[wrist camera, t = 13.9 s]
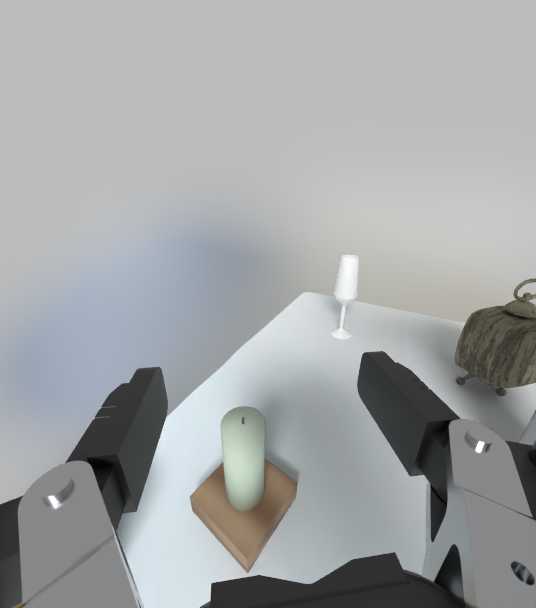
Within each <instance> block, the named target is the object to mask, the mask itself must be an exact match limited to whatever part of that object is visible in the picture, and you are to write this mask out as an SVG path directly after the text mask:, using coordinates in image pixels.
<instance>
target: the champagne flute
mask: <svg viewBox="0 0 536 608" xmlns="http://www.w3.org/2000/svg"><path fill="white" fill-rule="evenodd" d="M358 271H359V257H358V256H355V255H342V256H341V259H340V264H339V269H338V274H337V279H336V284H335V289H334V297H335V298H336V300H337V301H338V302H339V303H340V304H341V305H342V309H341V318H340V326H339V328H336V329H333V330H331V331H330V335H331V336H333V337H334V338H337V339H349V338H351V336H352V334H351V333H350V332H349V331H347V330H345V329H344V328H343V326H344V318H345V310H346V305H348V304H350V303H352V302H353V301H354V300H355V299H356V298H357V296H358V273H359V272H358Z"/></svg>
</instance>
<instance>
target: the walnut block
mask: <svg viewBox="0 0 536 608" xmlns="http://www.w3.org/2000/svg"><path fill="white" fill-rule="evenodd" d="M296 487H297V482H295V481H294V480H293V479H291V478H290V477H289V476H287V475H286V474H285V473H283V472H282V471H281V470H279V469H278V468H277V467H275V466H274V465H272V464H271V463H270V462H268V461H267V460H266V459H264V493H263V497H262V500H261V501H260V503H259V504H258V505H257V506H256V507H255V508H254V509H252V510H249V511H244V512H243V511H238V510H235V509H234V508H232V507H231V506H230V504H229V503H228V501H227V498H226V489H225V476H224V463H222V464H221V465H220V466H219V467H218V468H217V469H216V470H215V471H214V472H213V473H212V474H211V475H210V476H209V477H208V478H207V479H206V480H205V482H204V483H203V484H202V485H201V486H200V487H199V488H198V489H197V490H196V491H195V492H194V493H193V494H192V495H191V496H190V500H191V505H192V511H193V512H194V513H195V514H196V515H197V516H198V517H199V518H200V520H201V521H202V522H203V523H204V524H205V525H206V526H207V528H208V529H209V530H210V531H211V532H212V533H213V534H214V535H215V537H216V538H217V539H218V540H219V541H220V542H221V543H222V544H223V546H224V547H225V548H226V549H227V550H228V551H229V552H230V554H231V555H232V556H233V557H234V558H235V559H236V560H237V561H238V563H239V564H240V565H241V566H242V567H243V568H244V569H245V570H246V572H247V573H248V572H249V571H250V569H251V567H252V566H253V564H254V563H255V561H256V559H257V558H258V556H259V555H260V553H261V551H262V550H263V548H264V547H265V545H266V543H267V542H268V540H269V539H270V537H271V535H272V534H273V532H274V531H275V529H276V528H277V526H278V524H279V523H280V521H281V520H282V518H283V516H284V515H285V513H286V512H287V510H288V508H289V507H290V505H291V504H292V502H293V500H294V499H295V497H296Z"/></svg>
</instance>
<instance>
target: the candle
mask: <svg viewBox="0 0 536 608" xmlns="http://www.w3.org/2000/svg"><path fill="white" fill-rule="evenodd" d="M221 437H222V450H223V463H224V476H225V489H226V498H227V501H228V503H229V504H230V506H231V507H232V508H234V509H235V510H238V511H243V512H244V511H249V510H252V509H254V508H255V507H256V506H257V505H258V504H259V503H260V501H261V500H262V497H263V493H264V454H265V420H264V417H263V415H262V414H261V413H260V412H259V411H258V410H256V409H254V408H252V407H237V408H234V409H232V410H230V411H229V412H228V413H227V414H226V415H225V416H224V417H223V419H222V421H221Z"/></svg>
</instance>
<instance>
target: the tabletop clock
mask: <svg viewBox="0 0 536 608" xmlns="http://www.w3.org/2000/svg"><path fill="white" fill-rule="evenodd" d="M532 282H536V279H529V280H526V281H524V282H522V283H521V284H519V285H518V286H517V287H516V289H515V291H514V297H515V298H516V299H517V300H515V301H512V302H510V303H508V304H506V305H505V306H495V307H490V308H485V309H480V310H478V311H476V312H474V313H472V314H471V316H470V317H469V319H468V320H467V322H466V324H465V326H464V328H463V331H462V333H461V336H460V338H459V341H458V345H457V349H456V353H455V363H456V364H457V365H459V366H460V367H462V368H463V369H465V370H466V371H468V372H469V374H468V375H466V376H465V377H463V378H462V377H458V378H457V379H456V382H457V383H458V384H464V383H465V380H466V379H468V378H471V377H474V376H475V377H477V378H478V379H480V380H481V381H483V382H484V383H486V384H487V385H491V386H496V387H500V388H497V390H496V392H497V394H498V395H500V396H504V395H506V390H505V389H503V388H513V387H519V386H524V385H528V384H532V383H536V306H535V305H534V304H533V303H531V302H529V300H531V299H534V298H536V294H535V295H532V296H531V294H530V293H525V294H524V295H523V297H519V296H517V292H518V290H519V289H520V288H521V287H522V286H524V285H525V284H527V283H532Z"/></svg>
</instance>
